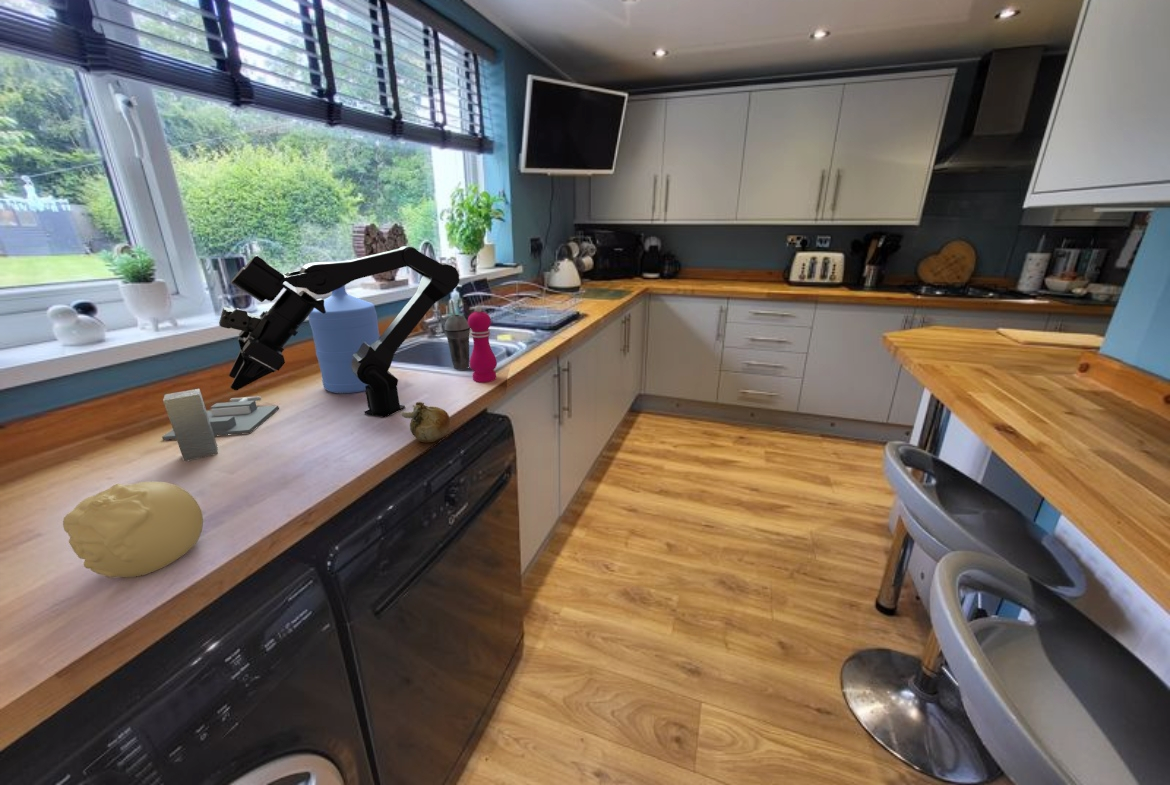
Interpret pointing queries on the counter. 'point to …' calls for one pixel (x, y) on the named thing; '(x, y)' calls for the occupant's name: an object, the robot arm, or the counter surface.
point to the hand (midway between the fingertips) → (232, 382)
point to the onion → (427, 422)
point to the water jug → (342, 338)
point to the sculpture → (134, 528)
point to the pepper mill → (481, 347)
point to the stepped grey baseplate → (235, 416)
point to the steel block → (190, 424)
